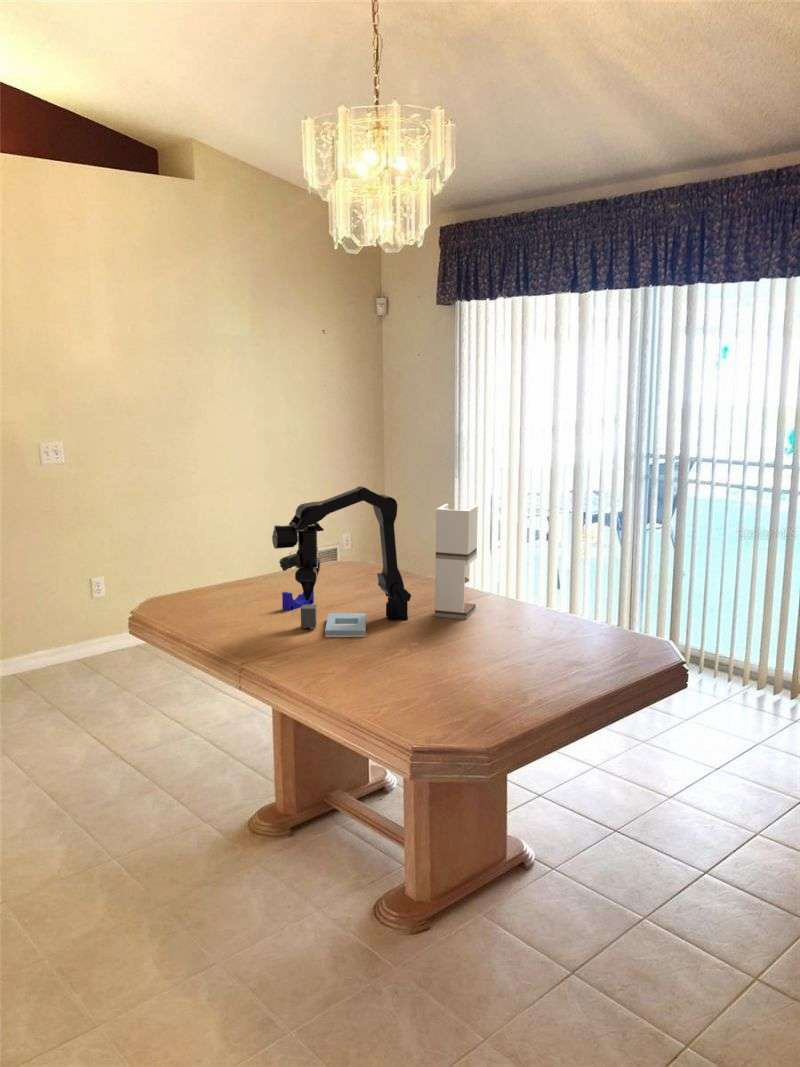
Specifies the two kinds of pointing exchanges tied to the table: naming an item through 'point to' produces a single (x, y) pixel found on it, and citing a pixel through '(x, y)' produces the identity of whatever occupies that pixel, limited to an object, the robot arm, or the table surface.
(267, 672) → the table surface
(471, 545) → the white dispenser
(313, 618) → the plug
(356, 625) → the socket
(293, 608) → the blue notched cradle
